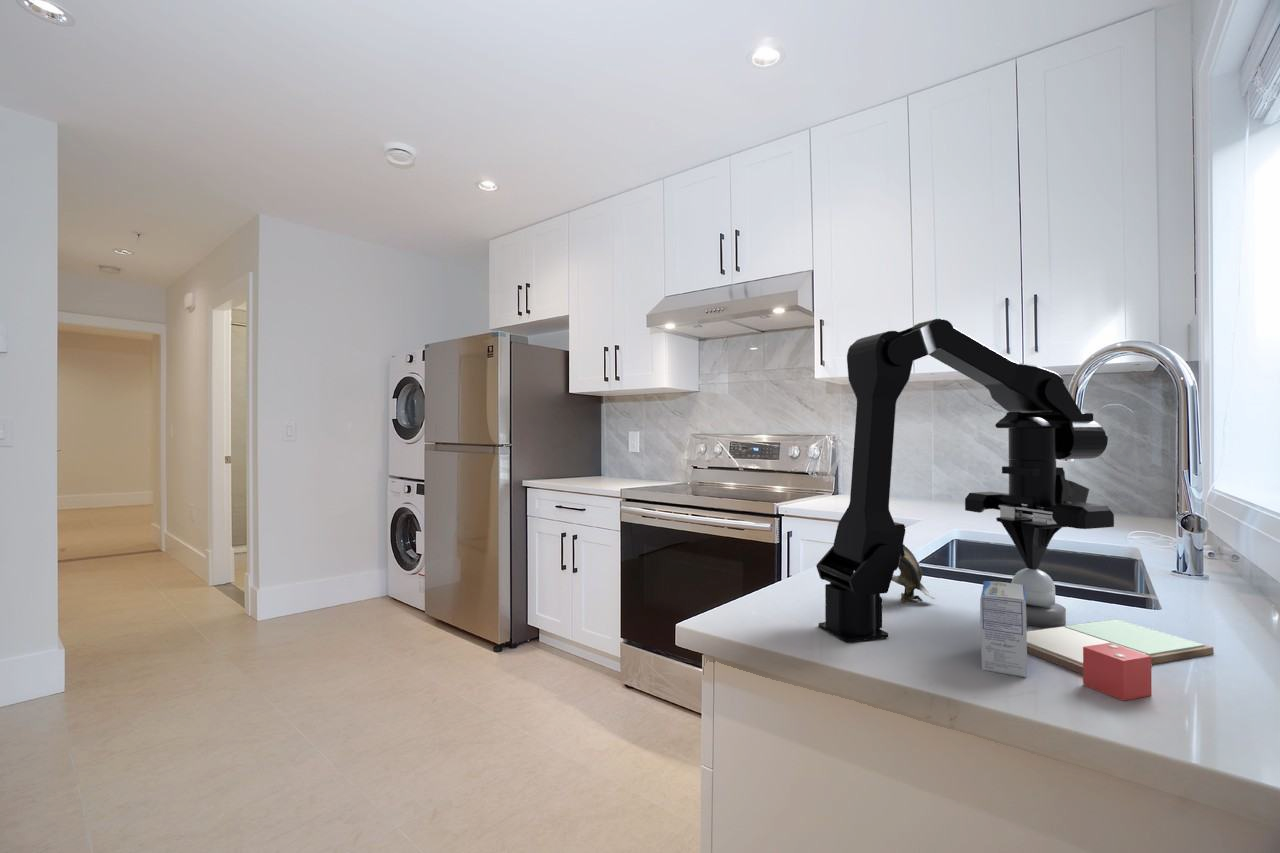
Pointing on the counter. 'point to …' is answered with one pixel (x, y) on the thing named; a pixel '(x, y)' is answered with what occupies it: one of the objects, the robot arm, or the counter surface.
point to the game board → (1070, 640)
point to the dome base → (1046, 616)
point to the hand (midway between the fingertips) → (1032, 568)
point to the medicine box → (1003, 628)
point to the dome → (1036, 586)
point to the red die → (1117, 671)
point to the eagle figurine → (910, 577)
